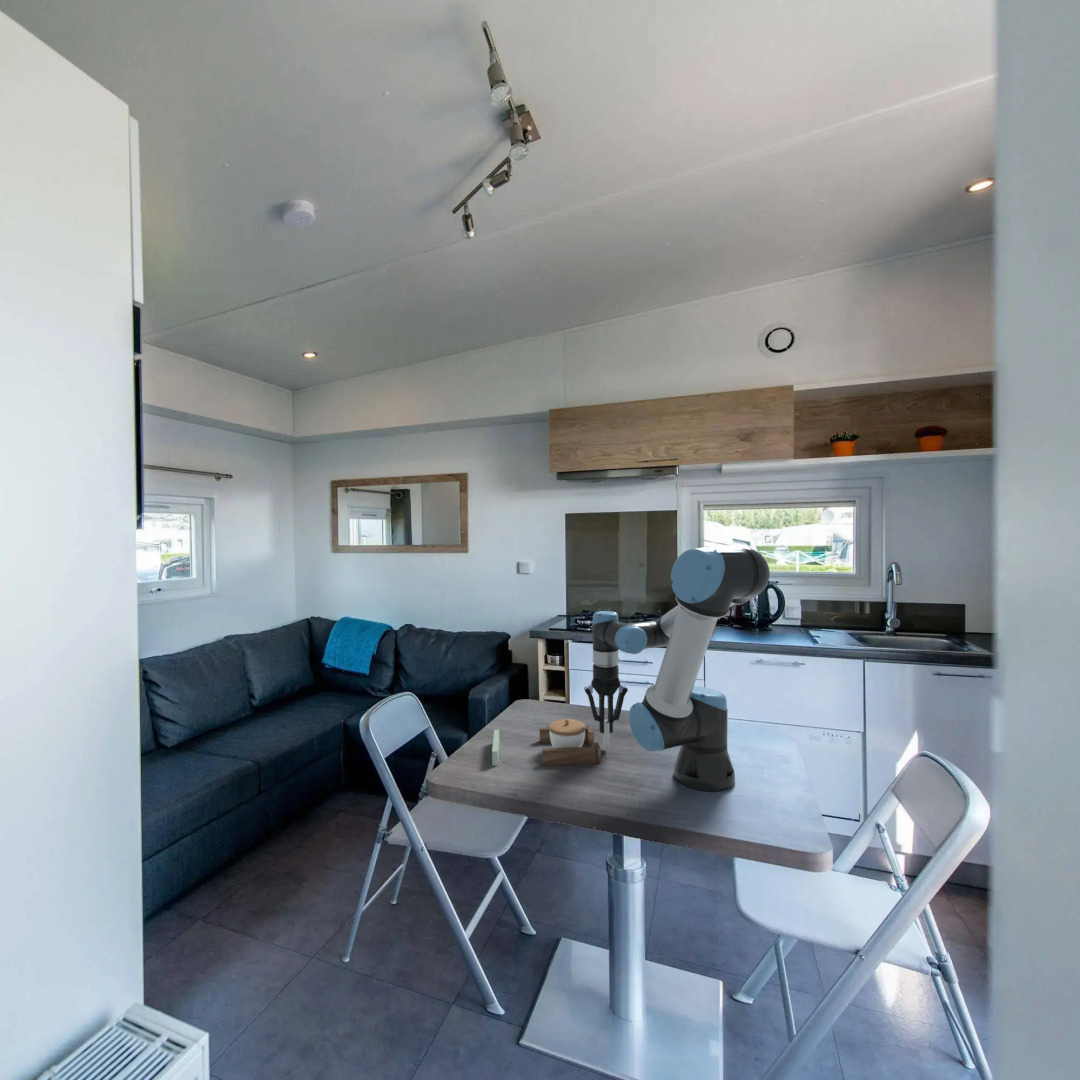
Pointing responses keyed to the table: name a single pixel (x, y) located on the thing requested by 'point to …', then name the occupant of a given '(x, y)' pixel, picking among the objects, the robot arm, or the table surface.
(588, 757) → the cradle
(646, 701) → the robot arm
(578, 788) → the table surface
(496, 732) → the rail
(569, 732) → the lidded jar
